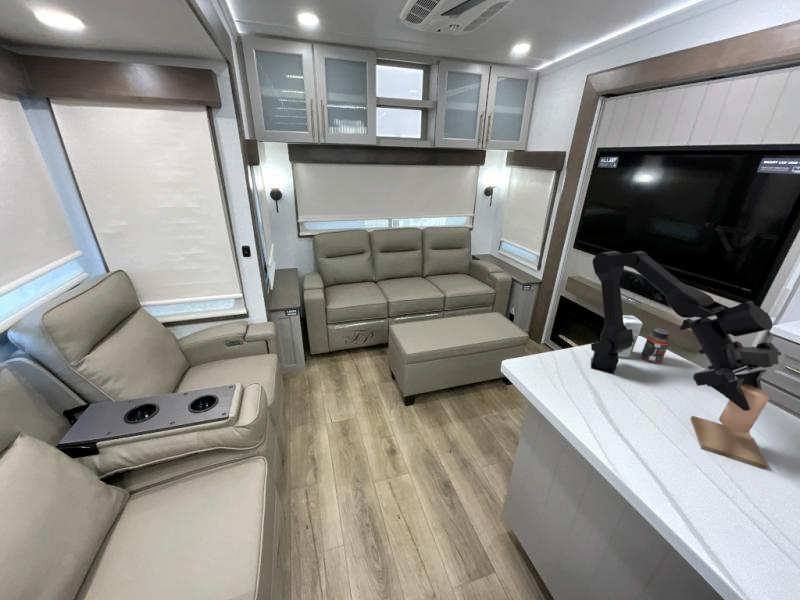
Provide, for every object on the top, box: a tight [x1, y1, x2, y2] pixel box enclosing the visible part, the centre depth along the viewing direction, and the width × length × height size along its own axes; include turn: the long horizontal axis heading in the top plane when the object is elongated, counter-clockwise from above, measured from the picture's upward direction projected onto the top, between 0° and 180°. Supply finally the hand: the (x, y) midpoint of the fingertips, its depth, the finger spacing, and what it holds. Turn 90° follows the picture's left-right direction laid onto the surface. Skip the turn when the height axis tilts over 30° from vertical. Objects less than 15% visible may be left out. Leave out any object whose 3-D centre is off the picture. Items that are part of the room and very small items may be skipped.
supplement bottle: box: [640, 328, 671, 364], centre depth 107 cm, size 6×6×11 cm
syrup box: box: [618, 314, 644, 359], centre depth 109 cm, size 6×6×14 cm
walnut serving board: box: [690, 415, 768, 470], centre depth 76 cm, size 11×11×1 cm
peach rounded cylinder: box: [718, 384, 771, 433], centre depth 72 cm, size 5×5×10 cm
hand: (754, 407), depth 70 cm, fingers closed on peach rounded cylinder, 5 cm apart
